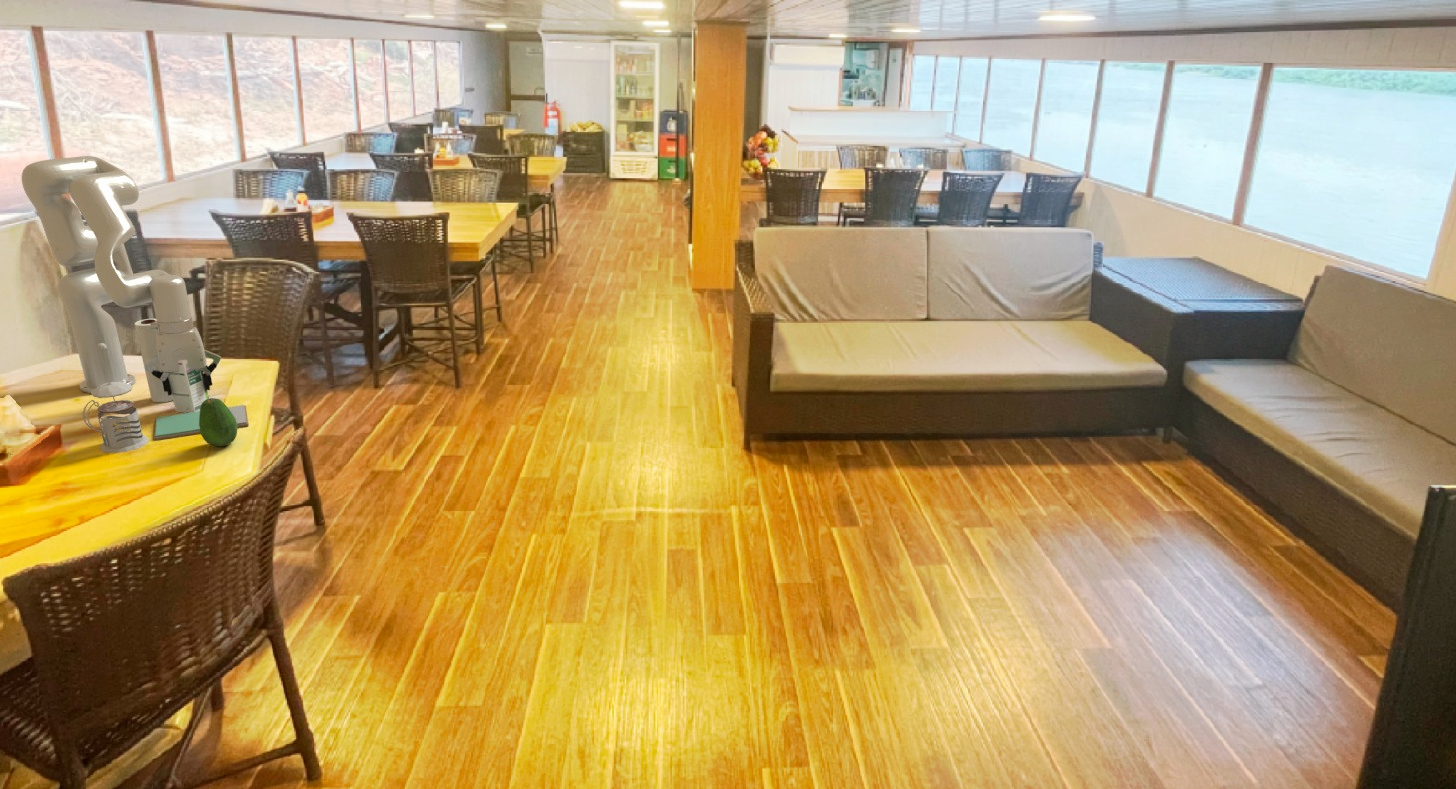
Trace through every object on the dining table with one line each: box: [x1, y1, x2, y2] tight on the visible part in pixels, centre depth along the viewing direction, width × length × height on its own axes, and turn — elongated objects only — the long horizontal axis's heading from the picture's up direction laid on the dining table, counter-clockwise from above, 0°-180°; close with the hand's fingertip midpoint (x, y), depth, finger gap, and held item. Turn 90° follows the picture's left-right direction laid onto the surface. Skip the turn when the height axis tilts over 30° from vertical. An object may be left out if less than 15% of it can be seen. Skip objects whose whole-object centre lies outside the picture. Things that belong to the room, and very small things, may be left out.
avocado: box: [199, 397, 239, 447], centre depth 212 cm, size 8×8×12 cm
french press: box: [82, 343, 150, 454], centre depth 208 cm, size 10×12×25 cm
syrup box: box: [168, 360, 210, 414], centre depth 230 cm, size 6×6×14 cm
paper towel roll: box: [134, 318, 173, 403], centre depth 234 cm, size 7×6×21 cm
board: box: [153, 404, 249, 441], centre depth 225 cm, size 13×20×1 cm, turn 119°
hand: (189, 390), depth 231 cm, fingers closed on syrup box, 8 cm apart
